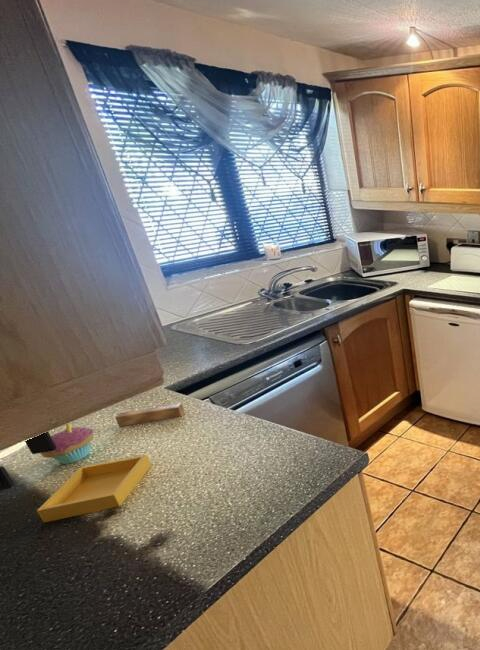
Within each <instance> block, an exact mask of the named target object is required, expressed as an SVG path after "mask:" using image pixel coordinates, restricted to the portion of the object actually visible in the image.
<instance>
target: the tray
mask: <svg viewBox="0 0 480 650" xmlns="http://www.w3.org/2000/svg"><path fill="white" fill-rule="evenodd" d="M151 467H152V464H151V462H150V459H149V456H148V455H147V454H143V455H138V456H132V457H126V458H121V459H116V460H111V461H105V462H99V463H95V464H90V465H83V466H80V467H79V468H78V469H77V470H76V471H75V472H74V473H73V474H72V475H70V477H69V478H68V479H67V480H66V481H65V482H64V483H63V484H62V485H61V486H60V487H59V488H58V489H57V490H56V491H55V492H54V493H52V495H51V496H50V497H49V498H48V499H47V500H46V501H44V503H43V504H42V505H41V506H40V507H38V509H37V510H36V513H37V514H38V516H39V517H40V518H41V520H42V522H43V523H49V522H54V521H58V520H62V519H66V518H72V517H77V516H82V515H86V514H90V513H95V512H99V511H103V510H108V509H109V510H110V509H114V508H119V507H121V505H122V504H123V503H124V501H126V499H127V498H128V496H129V495H130V494H131V493H132V491H133V490H134V489H135V487H136V486H137V484H138V483H139V482H140V481H141V480H142V478H143V477H144V475H145V474H146V473H147V472H148V470H149V469H150V468H151Z"/></svg>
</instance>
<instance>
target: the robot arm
mask: <svg viewBox="0 0 480 650" xmlns="http://www.w3.org/2000/svg"><path fill="white" fill-rule="evenodd" d="M51 436H52V435H51V434H50V432H49V431H48V432H46V433H43V434H41V435H39V436H37V437H34V438H32V439H29V440H27V441H24V442H25V444H26V446H27V448H28V449H29V451H30V453H31V454H32V455H38V454H41V453H43V452H49V451H53V450H55V449H56V448H57V447H56V445H55V443H54V441H53V440H52V438H51ZM3 451H4V450H0V453H2V452H3ZM14 482H15V481H13V479H12V477H11V476H10V474H9V473H8V471H7V470H6V468H5V467H4V466H0V491H4V490H9V489H11V488H13V487H14V486H15V483H14Z"/></svg>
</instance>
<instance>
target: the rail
mask: <svg viewBox="0 0 480 650" xmlns="http://www.w3.org/2000/svg"><path fill="white" fill-rule="evenodd" d="M184 414H185V409H184V406H183V404H182V403H174V404H169V405H163V406H156V407H149V408H143V409H137V410H131V411H125V412H124V411H123V412H119V413H118V414H116V415H115V417H114V418H115V420H116V423H117V425H118V427H125V426H133V425H138V424H143V423H149V422H155V421H162V420H166V419H167V420H168V419H173V418H179V417H182V416H184Z"/></svg>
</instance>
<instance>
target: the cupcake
mask: <svg viewBox="0 0 480 650" xmlns="http://www.w3.org/2000/svg"><path fill="white" fill-rule="evenodd" d="M65 427H66V429H64V430H62V431H59V432H57V433H54V434H53V435H50V436H51V438H52V440H53V441H54V443H55V445H56V447H57V448H56V449H55V450H53V451H49V452H43V453H40V455H41V456H42V458H52V459H54V460H56V461H57V462H59V463H60V464H62V465H68V464H74V463H76V462H79V461H80V460H83V459H85V458H86V457H87V456H88V455H90V452H91V442H92V441H93V440H94V430H93V429H91V428H87V427H80V426H79V427H78V426H77V427H72V425H71V423H70V424H67V425H66V424H65Z"/></svg>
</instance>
